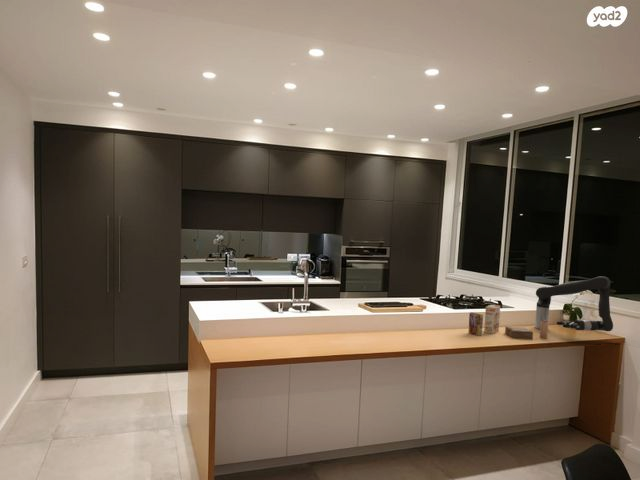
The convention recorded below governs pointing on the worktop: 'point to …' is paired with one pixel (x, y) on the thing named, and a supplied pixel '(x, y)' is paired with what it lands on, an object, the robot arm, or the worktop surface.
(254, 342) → the worktop surface
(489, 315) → the coffeecake box
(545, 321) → the terracotta canister
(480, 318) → the candy box
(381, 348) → the worktop surface
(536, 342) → the worktop surface
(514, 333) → the walnut base
